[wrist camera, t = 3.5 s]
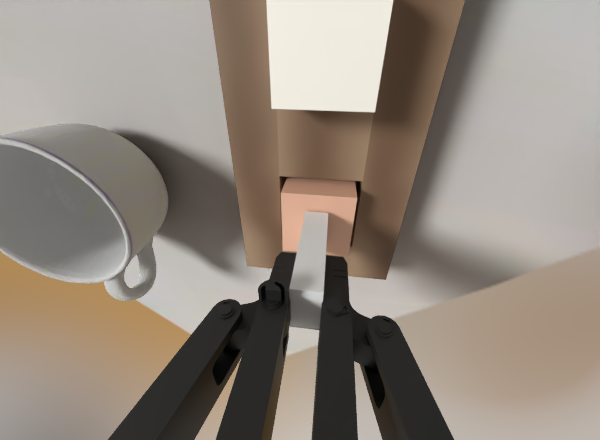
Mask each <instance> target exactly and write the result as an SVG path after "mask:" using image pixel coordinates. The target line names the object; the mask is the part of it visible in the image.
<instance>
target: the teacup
mask: <svg viewBox="0 0 600 440" xmlns="http://www.w3.org/2000/svg"><path fill="white" fill-rule="evenodd" d="M167 211H168V194H167V189H166V185H165V183H164V180H163V178H162V176H161V174H160V172H159V171H158V169H157V168H156V166H155V165H154V164H153V162H152V161H151V160H150V159H149V158H148V157H147V156H146V155H145V154H144V153H143V152H142V151H141V150H140V149H139V148H138V147H137V146H135V145H134V144H133V143H131V142H130V141H128V140H127V139H125V138H123V137H122V136H120V135H118V134H116V133H114V132H111V131H109V130H106V129H103V128H100V127H96V126H91V125H84V124H59V125H52V126H45V127H39V128H34V129H29V130H24V131H20V132H15V133H10V134H6V135H2V136H0V251H1V252H3V253H4V254H5V255H7V256H8V257H10V258H11V259H13V260H15V261H16V262H18V263H19V264H21V265H23V266H25V267H27V268H29V269H31V270H33V271H36V272H38V273H40V274H43V275H45V276H48V277H51V278H55V279H58V280H62V281H67V282H73V283H98V282H103V281H104V284H105V287H106V290H107V292H108V293H109V294H110V295H111V296H112V297H114V298H115V299H117V300H122V301H130V300H135V299H138V298H140V297H142V296H143V295H145V294H146V293H147V292H148V291H149V290H150V289H151V287H152V286H153V283H154V280H155V278H156V261H155V256H154V252H153V248H152V242H153V236H154V235H155V234H156V233H157V231H158V230H159V229H160V227H161V226H162V224H163V222H164V220H165V218H166V215H167ZM136 254H137V256H138V260H139V268H140V272H139V279H138V282H137V284H136V285H135V286H134V287H133V288H129V287H128V286H127V285H126V283H125V281H124V272H125V269H126V267H127V266H128V264H129V262H130V260H131V259H132V258H133V257H134V256H135V255H136Z"/></svg>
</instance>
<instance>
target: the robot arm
mask: <svg viewBox="0 0 600 440" xmlns="http://www.w3.org/2000/svg"><path fill="white" fill-rule="evenodd" d="M327 228H328V213H323V212H310V211H305V216H304V221H303V225H302V230H301V235H300V240H299V245H298V250H297V253H290V252H281V253H280V254H279V255H278V256H277V257H276V259H275V263H274V266H273V269H272V272H271V276H270V279H269V280H267V281H265V282H263V283H262V284H261V285H260V286H259V288H258V293H259V300H257V301H255V302H253V303H248V304H243V305H240V304H239V302H237V301H236V300H232V299H227V300H223V301H221V302H219V303H217V304H216V305H215V306H214V307H213V308H212V310H211V311H210V312H209V313H208V315H207V316H206V317H205V318H204V320H203V321H202V322H201V323H200V325H199V326H198V327H197V328H196V330H195V331H194V332H193V333H192V335H191V336H190V337H189V339H188V340H187V341H186V342H185V344H184V345H183V346H182V347H181V349H180V350H179V351H178V352H177V354H176V355H175V356H174V357H173V359H172V360H171V361H170V362H169V364H168V365H167V366H166V367H165V369H164V370H163V371H162V372H161V374H160V375H159V376H158V378H157V379H156V380H155V381H154V382H153V384H152V385H151V386H150V388H149V389H148V390H147V391H146V392H145V394H144V395H143V396H142V398H141V399H140V400H139V401H138V403H137V404H136V405H135V406H134V408H133V409H132V410H131V411H130V413H129V414H128V415H127V416H126V418H125V419H124V420H123V421H122V423H121V424H120V425H119V427H118V428H117V429H116V430H115V431H114V433H113V434H112V435H111V437H110V438H109V439H108V440H194V439H195V437H196V435H197V434H198V432H199V430H200V429H201V427H202V425H203V423H204V422H205V420H206V418H207V416H208V415H209V413H210V411H211V409H212V408H213V406H214V404H215V402H216V401H217V399H218V397H219V395H220V394H221V392H222V390H223V388H224V387H225V385H226V383H227V381H228V380H229V378H230V376H231V375H232V373H233V371H234V369H235V368H236V366H237V364H238V362H239V361H240V359H241V361H240V365H239V368H238V371H237V374H236V378H235V380H234V384H233V387H232V390H231V393H230V396H229V399H228V403H227V406H226V409H225V412H224V415H223V418H222V422H221V425H220V428H219V431H218V434H217V438H216V440H271V437H272V432H273V426H274V420H275V414H276V409H277V402H278V396H279V391H280V385H281V379H282V374H283V368H284V361H285V356H286V350H287V344H288V338H289V332H288V331H289V326H290V327H298V328H307V329H315V330H319V342H318V357H317V371H316V386H315V399H314V400H315V401H314V414H313V428H312V440H358V433H357V413H356V394H355V373H354V361H355V362H357V363H359V364H360V366H361V370H362V373H363V376H364V380H365V382H366V386H367V390H368V393H369V396H370V400H371V403H372V406H373V410H374V413H375V416H376V420H377V423H378V426H379V430H380V433H381V436H382V439H383V440H454V439H453V437H452V435H451V432H450V430H449V428H448V426H447V424H446V422H445V420H444V418H443V416H442V414H441V412H440V410H439V408H438V406H437V404H436V402H435V400H434V398H433V396H432V393H431V391H430V389H429V387H428V386H427V383H426V381H425V379H424V377H423V375H422V373H421V371H420V369H419V367H418V365H417V363H416V361H415V359H414V357H413V354H412V353H411V350H410V348H409V346H408V344H407V342H406V340H405V338H404V336H403V334H402V332H401V330H400V328H399V326H398V325H397V324H396V322H395V321H393V320H392V319H391V318H388V317H386V316H379V315H378V316H375V317H373V318H372V319H370V318H368V317H365V316H363V315H361V314H359V313H357V312H356V311H355V310H354V309H353V308H352V307H351V305H350V302H349V286H348V265H347V262H346V260H345V259H344V257H340V256H329V255H326V245H327ZM241 357H242V358H241Z"/></svg>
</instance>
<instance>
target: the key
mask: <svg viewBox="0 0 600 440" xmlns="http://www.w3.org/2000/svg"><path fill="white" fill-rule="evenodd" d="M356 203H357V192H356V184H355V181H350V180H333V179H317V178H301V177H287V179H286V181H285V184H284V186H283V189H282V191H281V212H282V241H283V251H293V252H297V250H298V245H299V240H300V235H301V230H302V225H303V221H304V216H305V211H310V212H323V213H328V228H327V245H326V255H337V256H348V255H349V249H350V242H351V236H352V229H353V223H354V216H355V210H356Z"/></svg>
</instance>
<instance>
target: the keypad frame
mask: <svg viewBox="0 0 600 440" xmlns="http://www.w3.org/2000/svg"><path fill="white" fill-rule="evenodd" d="M209 1H210V8H211V15H212V22H213V29H214V36H215V43H216V50H217V57H218V64H219V71H220V78H221V85H222V92H223V99H224V106H225V113H226V120H227V127H228V134H229V141H230V148H231V155H232V162H233V169H234V176H235V183H236V190H237V197H238V204H239V211H240V218H241V225H242V232H243V239H244V246H245V253H246V260H247V266H252V267H263V268H273V266H274V263H275V259H276V257H277V256H278V255H279V254H280V253H281V252H290V253H297V252H293V251H283V241H282V212H281V191H282V189H283V186H284V184H285V181H286V179H287V177H301V178H317V179H333V180H350V181H357V185H356V192H357V203H356V210H355V216H354V223H353V229H352V236H351V242H350V249H349V255H348V256H340V257H344V259H345V260H346V262H347V265H348V276H353V277H363V278H373V279H384V280H386V277H387V274H388V270H389V267H390V263H391V260H392V256H393V253H394V249H395V246H396V242H397V239H398V235H399V232H400V228H401V225H402V221H403V218H404V214H405V210H406V207H407V203H408V200H409V196H410V193H411V189H412V186H413V182H414V179H415V175H416V172H417V168H418V165H419V161H420V158H421V154H422V151H423V147H424V144H425V140H426V137H427V133H428V129H429V126H430V122H431V119H432V115H433V112H434V108H435V105H436V101H437V98H438V94H439V91H440V87H441V84H442V80H443V77H444V73H445V70H446V66H447V63H448V59H449V56H450V52H451V48H452V45H453V41H454V38H455V34H456V31H457V27H458V24H459V20H460V17H461V13H462V10H463V6H464V3H465V0H393V6H392V12H391V18H390V24H389V30H388V36H387V42H386V48H385V55H384V61H383V67H382V73H381V79H380V85H379V91H378V97H377V103H376V109H375V112H349V111H321V110H292V109H272V108H271V87H270V67H269V46H268V25H267V4H266V0H209ZM329 256H337V255H329Z"/></svg>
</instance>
